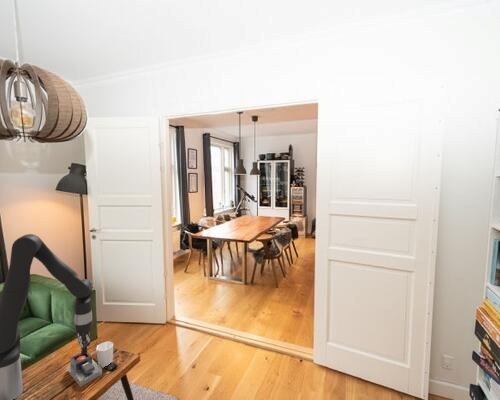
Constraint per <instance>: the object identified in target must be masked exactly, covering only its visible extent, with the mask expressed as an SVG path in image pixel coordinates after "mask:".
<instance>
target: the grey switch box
mask: <svg viewBox="0 0 500 400" xmlns="http://www.w3.org/2000/svg"><path fill="white" fill-rule="evenodd" d="M80 356H86V358H85V359H83V360H81V361H79V362H77V361H76V359H77V358H78V357H80ZM69 361H70V364H69V365H67V372H68V374H70V376H71V377H72V378H73V380H74V381H75V382H76V384H77V385H78V386H79V387H80V388H81V387H83V386H85V385H86V384H88V383H90V382H92V381H93V380H95V379H98V377H101V376H102V375H103V369H102V368H101V367H100V366H99V365H98V362H96V361H94V359H93V355H91V353H89V352H88V351H87V353H85V354H82V353H81V352H78V353H77V354H75V355H72V356H70V357H69ZM87 362H90V363H91V364H92V365H93V366H94V367H95V370H94V371H92V372H90V373H88V374H87V373H86V372H85V371H83V370H82V369H81V365H83V364H85V363H87Z"/></svg>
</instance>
